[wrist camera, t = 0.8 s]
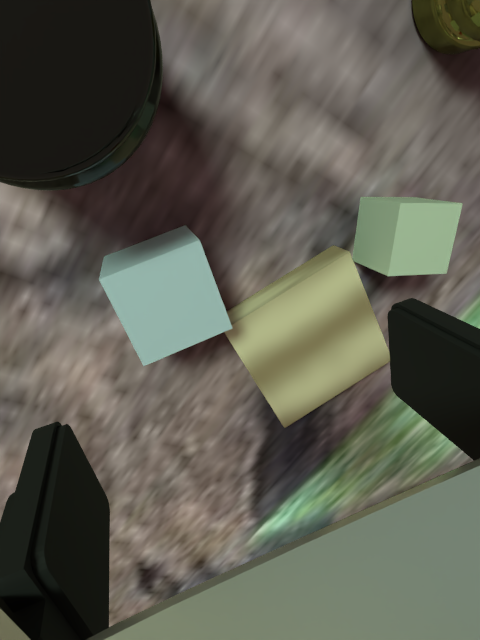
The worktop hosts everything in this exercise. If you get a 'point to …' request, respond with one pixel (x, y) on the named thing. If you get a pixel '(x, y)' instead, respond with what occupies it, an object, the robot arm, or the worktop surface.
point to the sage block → (405, 235)
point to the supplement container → (75, 88)
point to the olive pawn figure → (448, 24)
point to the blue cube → (164, 294)
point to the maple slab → (308, 335)
